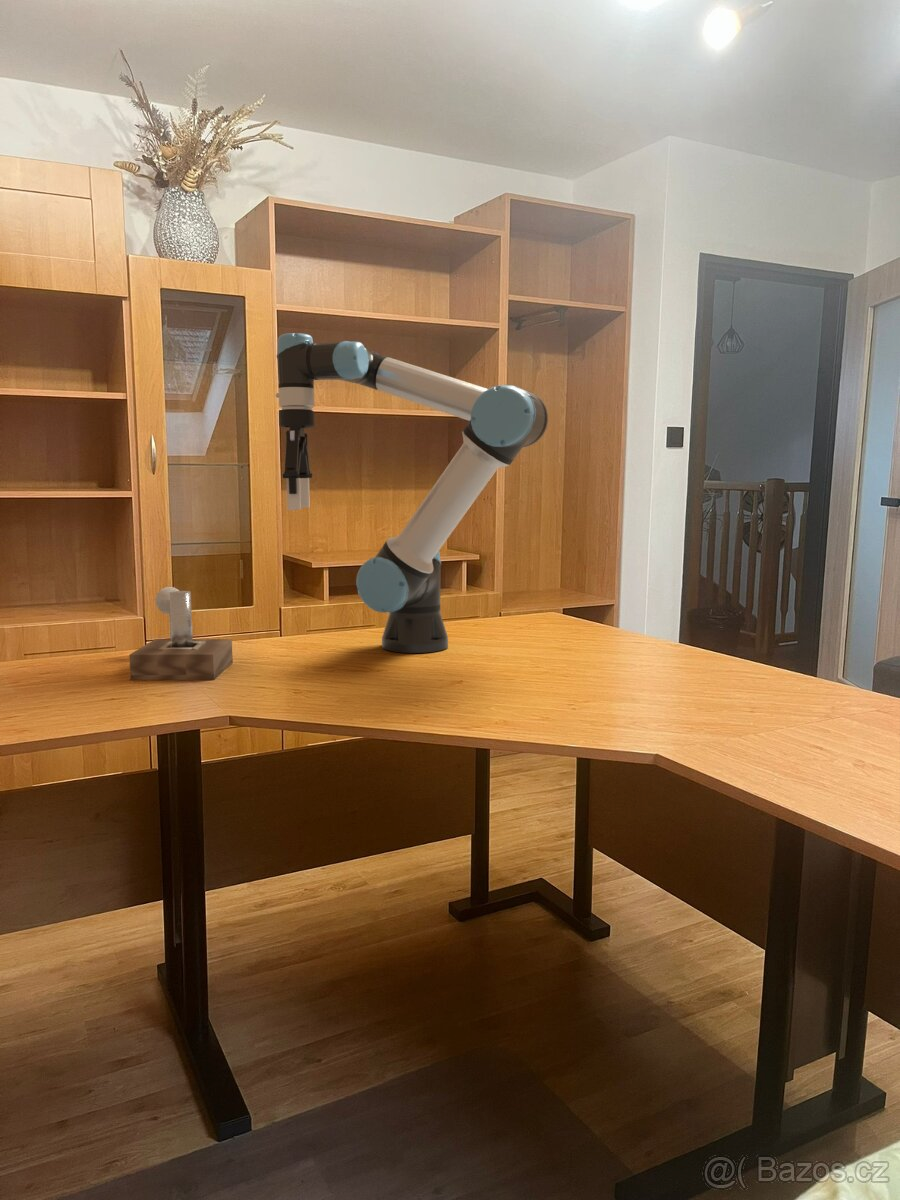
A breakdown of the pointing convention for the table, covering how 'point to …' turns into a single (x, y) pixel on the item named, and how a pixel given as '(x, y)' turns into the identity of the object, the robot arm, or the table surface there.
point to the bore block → (181, 660)
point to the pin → (181, 619)
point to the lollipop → (165, 602)
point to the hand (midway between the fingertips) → (298, 508)
